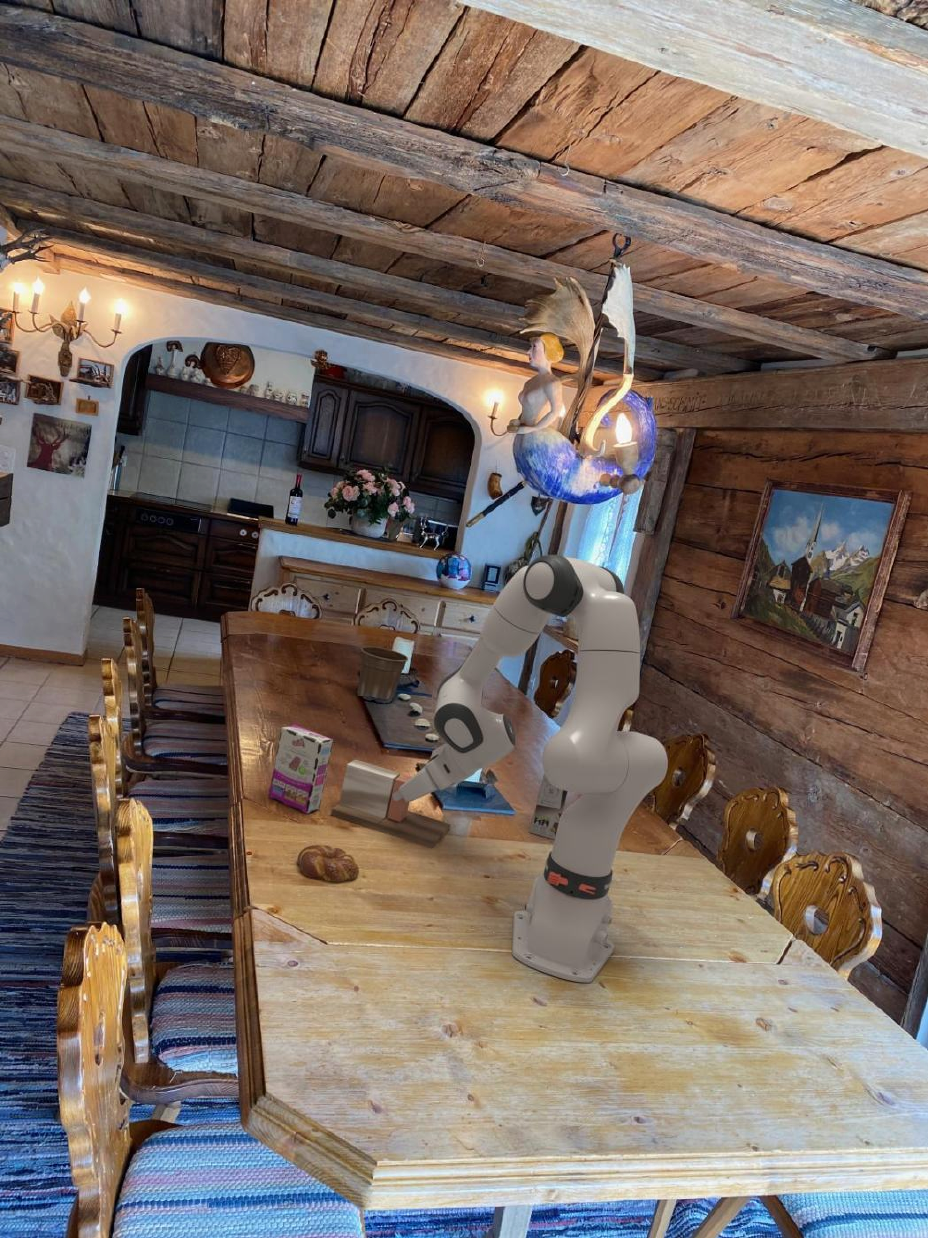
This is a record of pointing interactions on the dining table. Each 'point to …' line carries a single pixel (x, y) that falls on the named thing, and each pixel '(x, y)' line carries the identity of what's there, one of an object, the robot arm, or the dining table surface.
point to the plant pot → (380, 672)
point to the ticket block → (382, 806)
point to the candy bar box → (300, 768)
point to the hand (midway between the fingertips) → (399, 793)
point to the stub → (401, 806)
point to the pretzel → (327, 863)
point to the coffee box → (548, 810)
